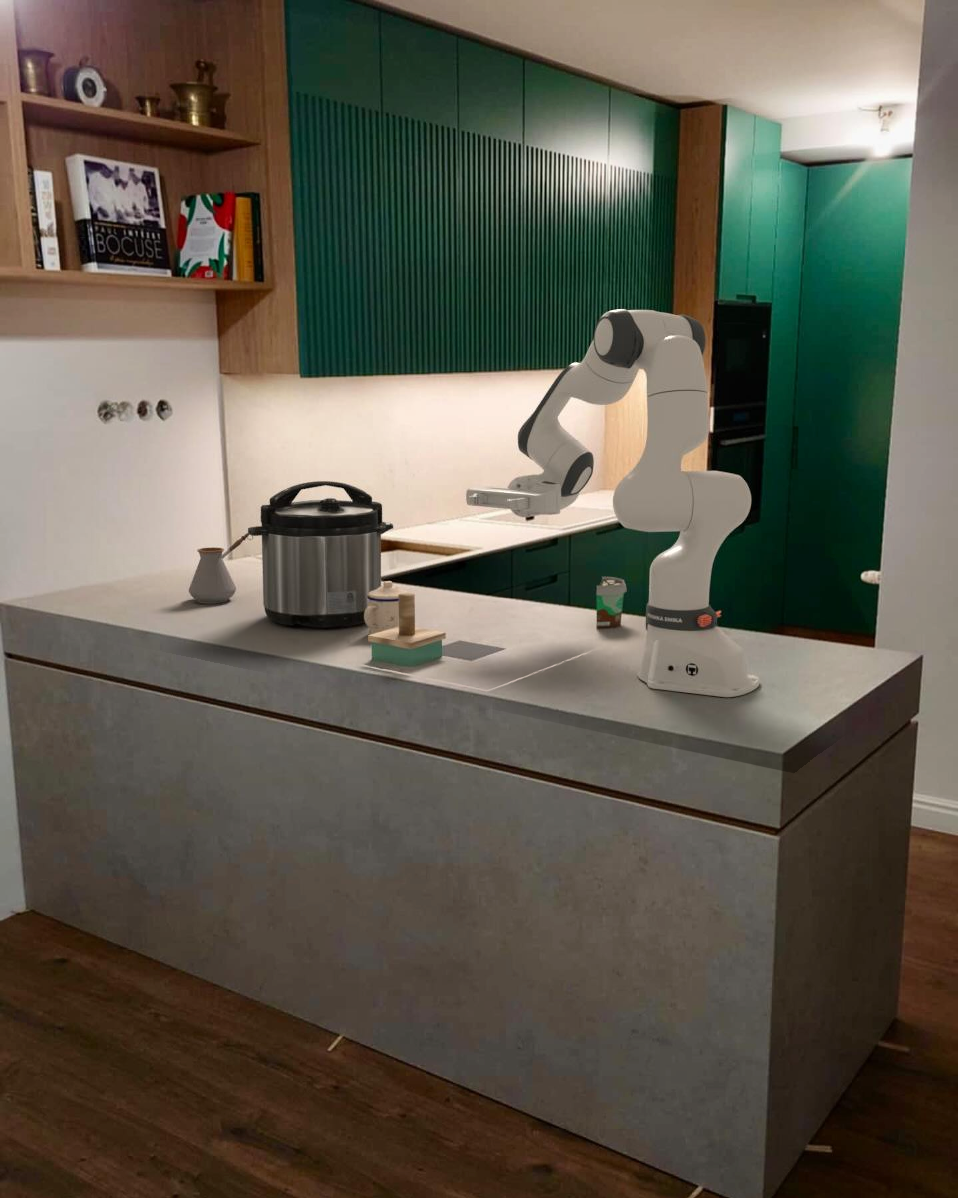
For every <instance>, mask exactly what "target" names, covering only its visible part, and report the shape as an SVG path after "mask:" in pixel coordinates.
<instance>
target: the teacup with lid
mask: <svg viewBox="0 0 958 1198" xmlns="http://www.w3.org/2000/svg"><path fill="white" fill-rule="evenodd" d="M402 593H409V592H408V591H406V590H404V589H401V588H399V587H398V586H396V585H394V583H393V582H392V581H391V580H387V581H383V585H381V587H379V588H378V589H376V590H374V591H371V592H369V593H368V596H367V598H368V602H369V606H368V607H367V608H366V610H365V612H364V620H365V622H364V623H365V626H367V627H368V635H371V634H374V633H378V632H382V631H385V630H389V629H392V628H396V627H399V596H398V595H399V594H402Z"/></svg>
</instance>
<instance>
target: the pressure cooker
mask: <svg viewBox="0 0 958 1198" xmlns="http://www.w3.org/2000/svg"><path fill="white" fill-rule="evenodd" d="M323 486H324V487H325V486H328V487H333V488H339V489H343V490H344V491H345V492H346V494H347V495H348V497H349V498H350V500H339V499H336V498H331V497H330V498H328V497H327V498H324V499H314V500H312V499H311V500H303V501H302V500H301V501H300V500H299V501H294V500H295V499H296V498H297V496H298V495H299V494H300V492H301V491H303V490H308V489H312V488H313V489H314V488H318V487H319V488H320V487H323ZM293 501H294V502H293ZM260 523H261V526H250V527H248V528H247V533H249V534H250V536H251V535H252V536H253V537H256V536H261V552H262V553H261V561H262V562H261V563H262V593H263V594H262V595H263V596H262V599H263V603H262V604H263V608H264V612H265V615H266V616H267V618H268V619H270V620H271V621H274V622H275V623H277V624H280V625H285V626H293V625H296V624H298V625H303V626H305V627H309V628H310V627H311V628H312V627H313V628H327V629H328V628H339V627H348V626H349V627H350V626H354V625H360V624H363V623H365V620H364V612H365V610H366V608H367V607H368V606H369V602H368V598H367V596H368V593H369V592H371V591H374V590H376V589H378V588H379V587H381V586H382V535H383V534H385V533H386V532H388V531H390V530H393V529H394V524H393V523H391V522H387V521H383V504H382V503H381V502H377V501H373V497H372V496H371V495H370V494H369V493H367V491H364V490H363V489H361V488H359V487H356V486H354V485H351V484H347V483H343V482H339V481H330V480H329V481H328V480H325V481H324V480H322V481H321V480H319V481H309V482H303V483H299V484H295V485H292V486H290V487H286V488H285V489H283V490H281V491H279V492H277V493H276V494H274V495H272V496H271V497H270V498H269V504H263V505H261V506H260ZM252 536H251V537H252Z"/></svg>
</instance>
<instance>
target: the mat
mask: <svg viewBox="0 0 958 1198" xmlns="http://www.w3.org/2000/svg"><path fill="white" fill-rule="evenodd" d="M504 650H506V648H504V647H499V646H495V645H494V646H493V645H487V644H482V643H476V642H471V641H465V640H457V641H453V642H451V643H447V644H443V645H442V657H443V656H444V657H450V658H454V659H458V660H459V659H460V660H465V661H470V662H471V661H475V660H478V659H481V658H484V657H488V656H489V655H493V654H495V653H498V652H500V651H504Z"/></svg>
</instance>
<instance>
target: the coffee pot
mask: <svg viewBox="0 0 958 1198" xmlns="http://www.w3.org/2000/svg"><path fill="white" fill-rule="evenodd" d="M249 535H250V534H249V533H248V532H247V533H245V534H244V535H242V536H241V538H239V539H237V540H236V541H235V542H234V543H233V544H232V545H231V546H230V547H229V548H228V549H227V550H226V551H225V549H224V548H223V547H202V548H198V549H197V553H199V554H198V555H199V556H200V559H199V561H198V564H197V567H196V569H195V572H194V575H193V577H192V580H191V583H190V584H189V585H190V586H189V587H188V592H189V594H190V596H191V597H192V598H193V599H194V600H196V602H197V603H200V604H205V605H206V604H209V605H210V604H221V603H225V602H229V601H230V598H232V597H233V596H234V595H235V593H236V591H237V587H236V585H235V582H234V580H233V578H232V576H231V574H230V572H229V570H228V568H227V566H226V564H225V562H224V558H226V556H228V555H229V554H230V553H231V552H232V551H233V550H235V549H236V548H238V547H239V546H241V544H242V543H243V541H246V540H249V541H253V539H254V536H252V535H250V536H251V537H252V538H249ZM224 551H225V552H224Z"/></svg>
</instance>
